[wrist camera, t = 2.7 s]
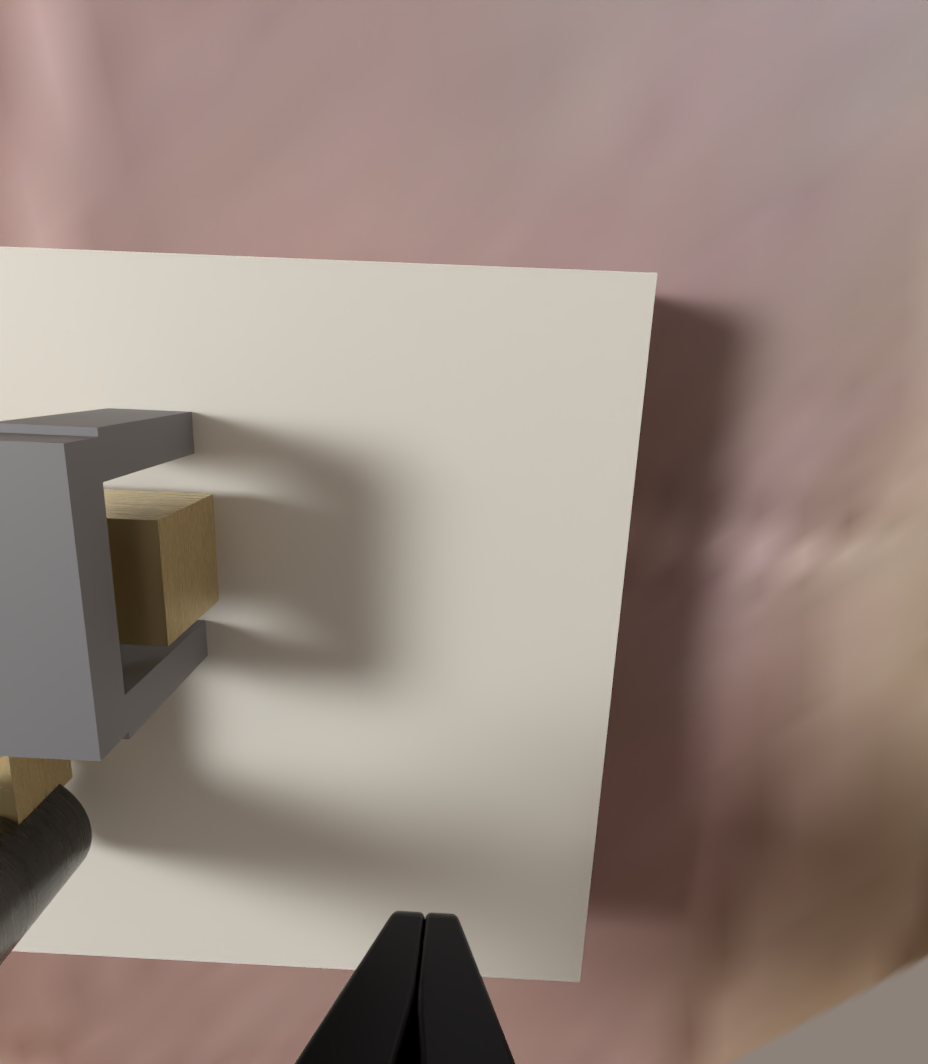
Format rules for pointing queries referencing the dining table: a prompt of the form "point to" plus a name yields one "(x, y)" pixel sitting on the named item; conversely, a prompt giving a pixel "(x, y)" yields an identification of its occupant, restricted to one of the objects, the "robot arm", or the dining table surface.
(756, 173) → the dining table surface
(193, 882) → the door board
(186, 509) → the bolt
